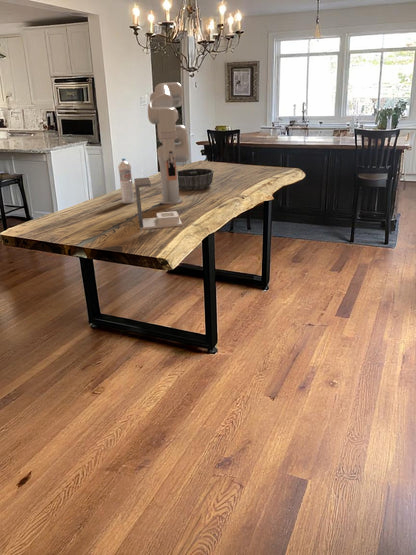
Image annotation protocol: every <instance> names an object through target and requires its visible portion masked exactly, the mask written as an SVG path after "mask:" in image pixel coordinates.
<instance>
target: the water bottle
mask: <svg viewBox="0 0 416 555" xmlns="http://www.w3.org/2000/svg"><path fill="white" fill-rule="evenodd" d="M131 168H132V166H131V165H130V163H129V162H127V161H126V157H125V158H121V162H120V163H119V165H118V172H119V182H120V190H121V191H120V192H121V198H122V204H124V205H130V204H131V205H132V204H134V203H135V193H134V186H133V185H134V184H133V176H132V169H131Z"/></svg>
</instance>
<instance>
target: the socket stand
mask: <svg viewBox="0 0 416 555" xmlns="http://www.w3.org/2000/svg"><path fill="white" fill-rule="evenodd" d="M142 220H143V227H142V228H140V225H138V226H139V230H140V231H141V230H151V229H152V230H153V229H161V228H171V227H173V228H174V227H181V226H183V222H182V221H181V219H180V215H179V213H178V212H177V210H174V211H173V210H172V211H163V212H156V217H146V218H142Z"/></svg>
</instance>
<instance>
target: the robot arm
mask: <svg viewBox="0 0 416 555" xmlns="http://www.w3.org/2000/svg"><path fill="white" fill-rule="evenodd" d="M149 101H150V102H148V105H147V117H148V121H149V123H150V124H152V125H156V128H157V137H158V140H159V142H160V143H161V144H162V145H160V146H159V147H158V148H157V150H156V153H157V159H158V163H159V170H160V181H161V182H160V183H161V192H162V199H161V200H159V201H160V204H162V205H165V206H166V205H179V204H181V203H183V199H182V198H181V197H180V188H179V184H178V171H179V170H178V169H177V168H176V174H177V180H170V181H168V180H167V175H166V163H165V161H167V160H168V166H169V168H168V174H169V176H175V167H174V161H176V163H184V162H185V163H186V162H188V161H189V160H190V146H189V145H190V144H189V137H188V131H187V127H186V126H185V125H183V124H176V122H178V120H179V111H178V110H177V108H179V107H181V106H182V105H183V102H184V89H183V87H182V84H181V83H179V82H173V81H172V82H162V83H158V84H157V85H156V86H155V88H154V92H152V93H151V94H150V96H149ZM169 160H170V161H169ZM169 162H170V163H169Z"/></svg>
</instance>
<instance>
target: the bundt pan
mask: <svg viewBox="0 0 416 555" xmlns="http://www.w3.org/2000/svg"><path fill="white" fill-rule="evenodd" d="M177 171H178V184H179V190H184V191H193V190H194V191H197V190H205V189H207V188H209V187H210V186H211V185H212V183H213V178H214V172H215V170H213V169H211V168H189V169H182V170H177Z"/></svg>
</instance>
